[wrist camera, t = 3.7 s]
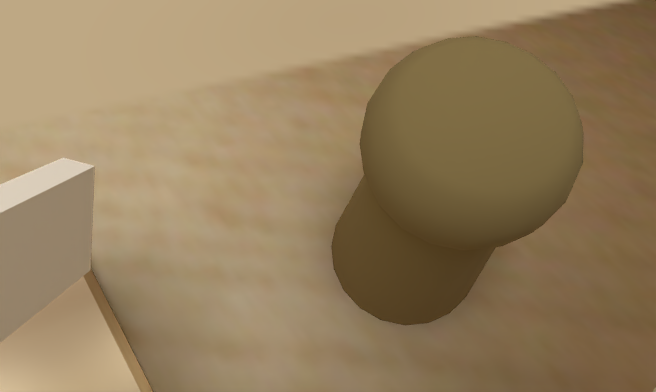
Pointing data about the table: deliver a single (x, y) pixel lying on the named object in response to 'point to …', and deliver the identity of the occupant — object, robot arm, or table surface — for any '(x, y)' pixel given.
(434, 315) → the olive pawn
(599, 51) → the table surface
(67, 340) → the birch board
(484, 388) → the table surface
